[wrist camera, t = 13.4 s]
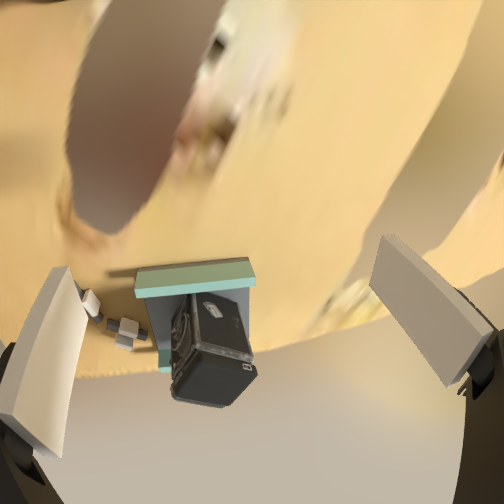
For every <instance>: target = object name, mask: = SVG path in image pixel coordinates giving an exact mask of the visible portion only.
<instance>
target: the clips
mask: <svg viewBox="0 0 504 504" xmlns="http://www.w3.org/2000/svg"><path fill="white" fill-rule="evenodd" d="M82 304H83V306H84V307H85V309H86V310H87V311H88V312H89V313H90V315H91V316H92V317H95V316H97V315H98V312H99V308H100V305H101V302H100V301H99V299H98V298H97V297H96V296H95V294H94V293H93V292H92V290H91V289H89V290H87V291H85V294H84V297H83V300H82ZM138 327H139V322H137V321H134V320H131V319H128V318H125V317H122V318H121V321H120V327H119V333H118V332H117V333H116V338H115V344H114V346H116V347H119V348H123V349H126V350H129V351H131V350H132V348H133V339H136V338H137V336H138Z"/></svg>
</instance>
